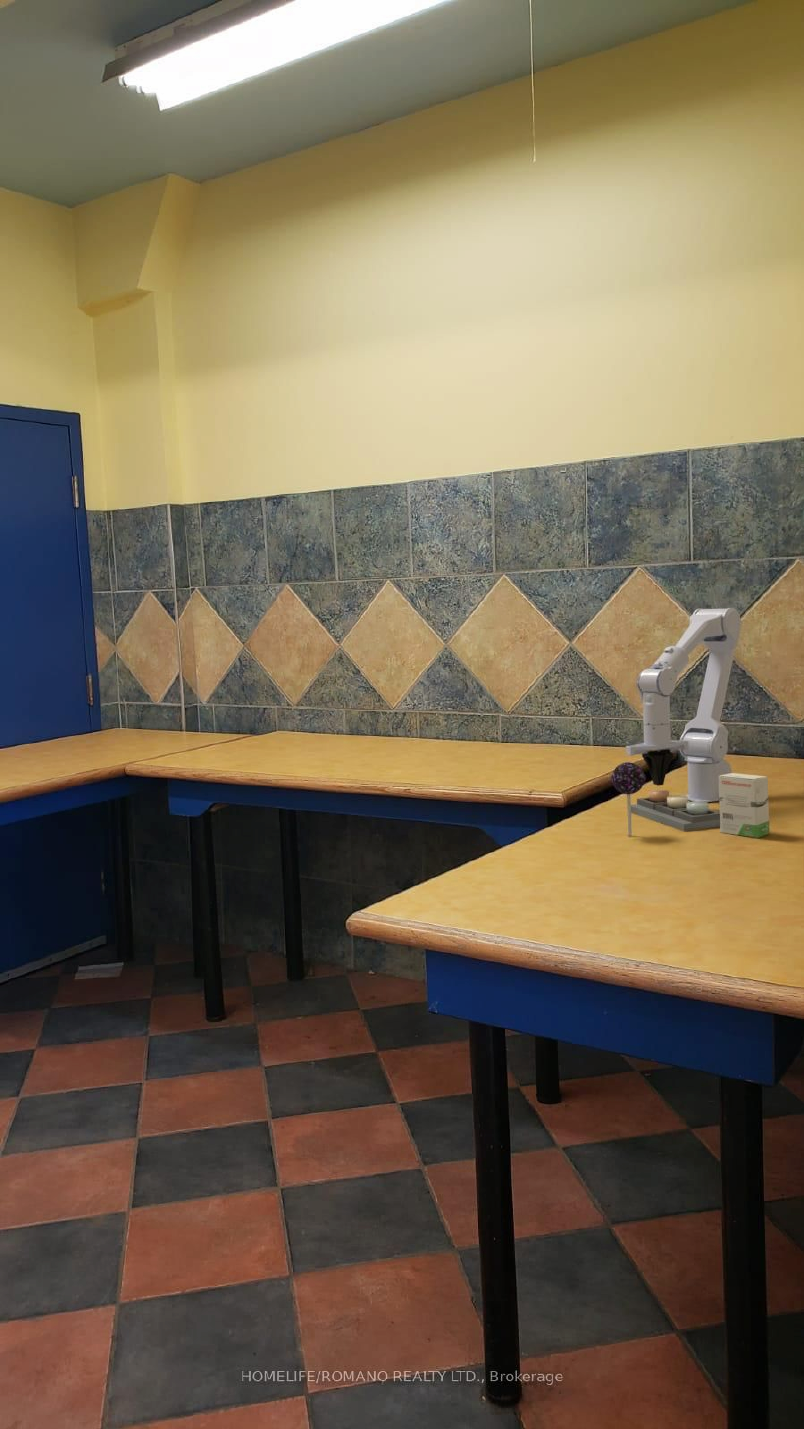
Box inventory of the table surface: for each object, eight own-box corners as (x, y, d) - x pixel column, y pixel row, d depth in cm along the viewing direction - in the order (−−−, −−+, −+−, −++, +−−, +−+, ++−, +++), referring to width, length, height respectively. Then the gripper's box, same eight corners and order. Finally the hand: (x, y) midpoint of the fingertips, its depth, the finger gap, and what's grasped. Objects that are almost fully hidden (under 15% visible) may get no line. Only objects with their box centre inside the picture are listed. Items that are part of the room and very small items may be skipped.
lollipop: (650, 838, 215) (648, 764, 213) (616, 840, 215) (613, 766, 214) (643, 830, 222) (641, 758, 220) (610, 832, 222) (607, 760, 220)
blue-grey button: (700, 808, 227) (700, 800, 227) (712, 812, 223) (712, 804, 223) (682, 811, 226) (682, 802, 226) (694, 815, 222) (694, 806, 221)
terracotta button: (662, 796, 241) (662, 789, 241) (673, 800, 237) (672, 792, 237) (645, 799, 240) (644, 791, 240) (655, 802, 236) (655, 794, 236)
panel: (672, 806, 244) (672, 794, 243) (730, 824, 223) (730, 812, 223) (629, 811, 240) (628, 799, 240) (684, 831, 220) (683, 818, 219)
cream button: (681, 802, 234) (680, 794, 234) (692, 806, 230) (692, 798, 230) (663, 805, 233) (662, 796, 233) (674, 808, 229) (674, 800, 228)
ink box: (770, 834, 214) (770, 775, 212) (756, 839, 210) (755, 779, 209) (732, 828, 220) (731, 771, 219) (718, 832, 217) (717, 774, 216)
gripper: (675, 718, 242) (677, 778, 244) (618, 724, 238) (620, 785, 240) (693, 722, 236) (694, 783, 237) (634, 727, 231) (636, 790, 233)
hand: (658, 784), depth 238 cm, fingers closed
